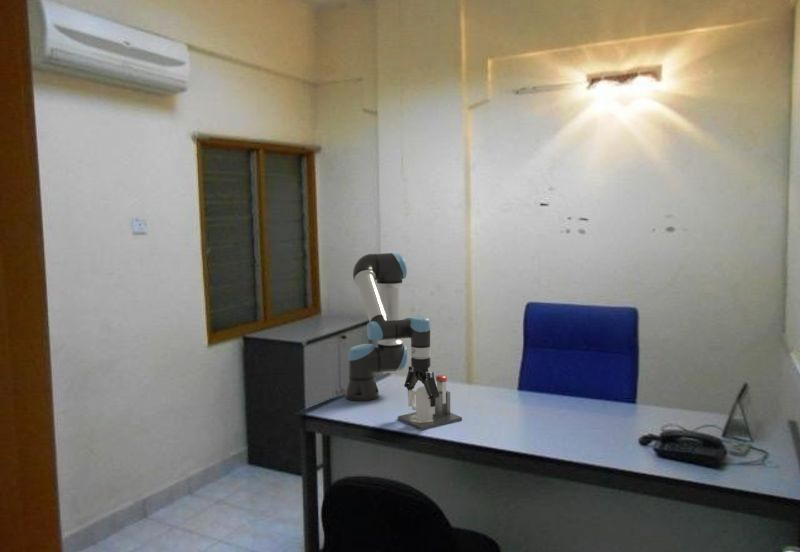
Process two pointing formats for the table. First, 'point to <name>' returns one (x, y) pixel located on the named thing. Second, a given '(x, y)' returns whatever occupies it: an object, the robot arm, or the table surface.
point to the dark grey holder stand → (438, 419)
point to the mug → (421, 404)
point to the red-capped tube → (442, 386)
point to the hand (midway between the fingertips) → (421, 410)
